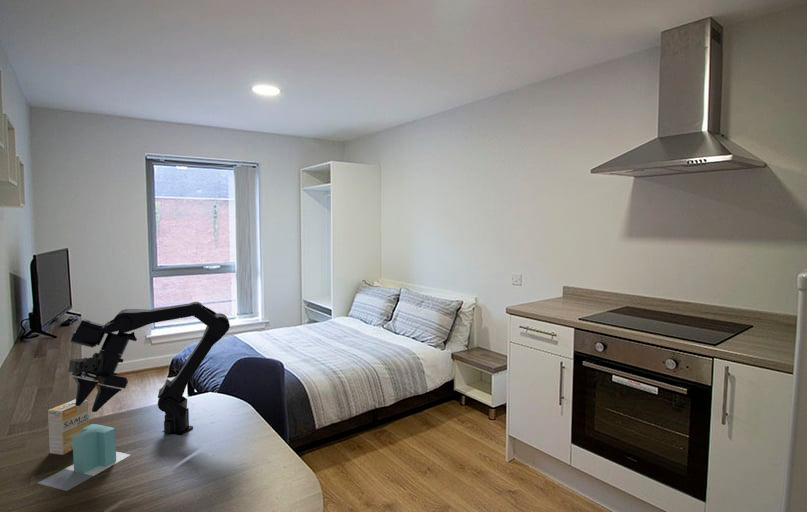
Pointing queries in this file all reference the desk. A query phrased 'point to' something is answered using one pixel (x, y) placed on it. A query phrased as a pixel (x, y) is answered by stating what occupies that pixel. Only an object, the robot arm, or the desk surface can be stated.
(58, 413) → the supplement box
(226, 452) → the desk surface
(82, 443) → the t block
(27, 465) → the desk surface
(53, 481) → the board
